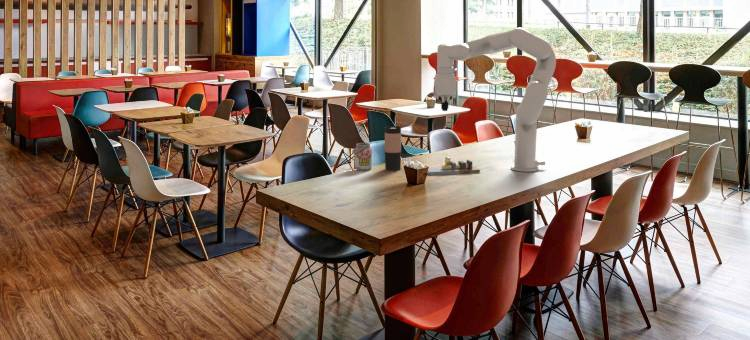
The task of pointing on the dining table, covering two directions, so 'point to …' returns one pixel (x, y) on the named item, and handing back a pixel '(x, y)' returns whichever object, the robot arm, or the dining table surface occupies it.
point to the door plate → (443, 170)
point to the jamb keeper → (467, 170)
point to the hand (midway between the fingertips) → (444, 110)
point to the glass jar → (363, 156)
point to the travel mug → (392, 148)
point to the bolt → (450, 166)
